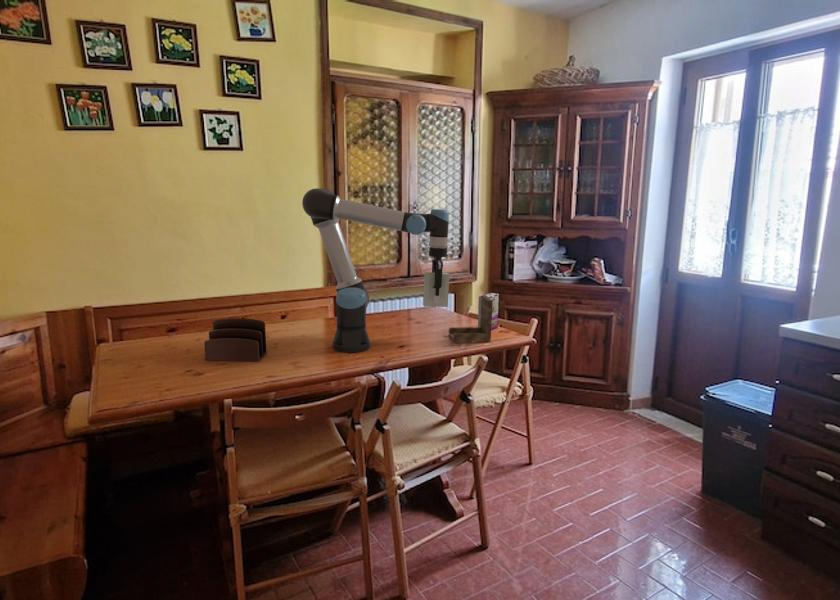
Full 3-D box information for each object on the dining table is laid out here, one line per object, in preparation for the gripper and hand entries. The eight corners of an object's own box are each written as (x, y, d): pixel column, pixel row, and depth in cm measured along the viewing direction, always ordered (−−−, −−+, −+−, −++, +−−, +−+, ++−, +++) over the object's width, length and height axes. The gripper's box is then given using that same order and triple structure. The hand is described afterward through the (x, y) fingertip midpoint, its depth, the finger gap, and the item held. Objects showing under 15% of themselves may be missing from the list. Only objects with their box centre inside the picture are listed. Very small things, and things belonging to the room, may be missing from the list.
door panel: (424, 306, 214) (425, 273, 211) (423, 304, 218) (424, 272, 215) (447, 306, 215) (449, 274, 212) (445, 304, 219) (447, 272, 216)
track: (453, 342, 215) (455, 300, 211) (449, 335, 226) (450, 295, 222) (490, 341, 217) (492, 300, 213) (484, 334, 228) (486, 295, 224)
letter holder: (215, 352, 195) (213, 317, 192) (267, 353, 195) (265, 318, 192) (204, 361, 185) (202, 323, 182) (259, 362, 185) (257, 324, 182)
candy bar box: (488, 326, 243) (490, 292, 240) (497, 327, 240) (499, 293, 237) (476, 330, 235) (478, 295, 231) (486, 332, 232) (487, 297, 228)
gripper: (450, 249, 203) (447, 306, 208) (443, 245, 220) (440, 297, 225) (432, 249, 202) (429, 306, 207) (426, 244, 219) (423, 297, 224)
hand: (435, 301), depth 216 cm, fingers closed on door panel, 4 cm apart
